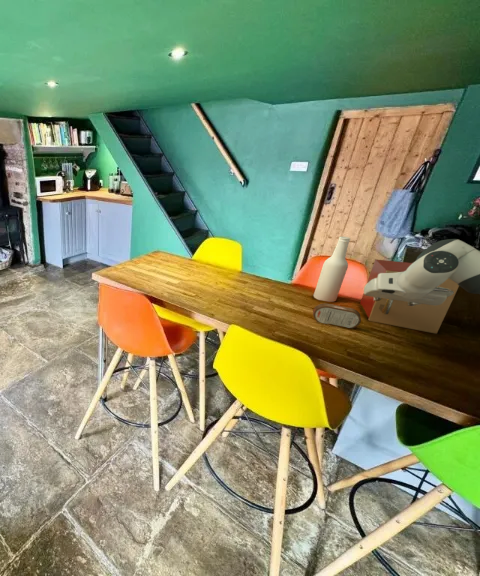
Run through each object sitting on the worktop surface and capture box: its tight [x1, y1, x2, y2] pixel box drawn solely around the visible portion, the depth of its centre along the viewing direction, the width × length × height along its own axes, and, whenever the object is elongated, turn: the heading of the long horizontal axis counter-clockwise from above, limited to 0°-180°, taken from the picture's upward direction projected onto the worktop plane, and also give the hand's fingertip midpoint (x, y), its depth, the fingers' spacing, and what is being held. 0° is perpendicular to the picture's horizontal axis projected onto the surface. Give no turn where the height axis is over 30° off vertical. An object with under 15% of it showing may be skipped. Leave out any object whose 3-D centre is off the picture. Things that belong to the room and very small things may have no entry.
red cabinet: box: [359, 259, 413, 320], centre depth 121 cm, size 16×20×22 cm
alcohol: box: [313, 236, 351, 303], centre depth 137 cm, size 9×9×30 cm
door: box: [367, 270, 460, 334], centre depth 112 cm, size 6×20×22 cm, turn 61°
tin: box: [312, 302, 362, 329], centre depth 118 cm, size 15×3×8 cm, turn 59°
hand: (392, 301), depth 111 cm, fingers open, 8 cm apart
